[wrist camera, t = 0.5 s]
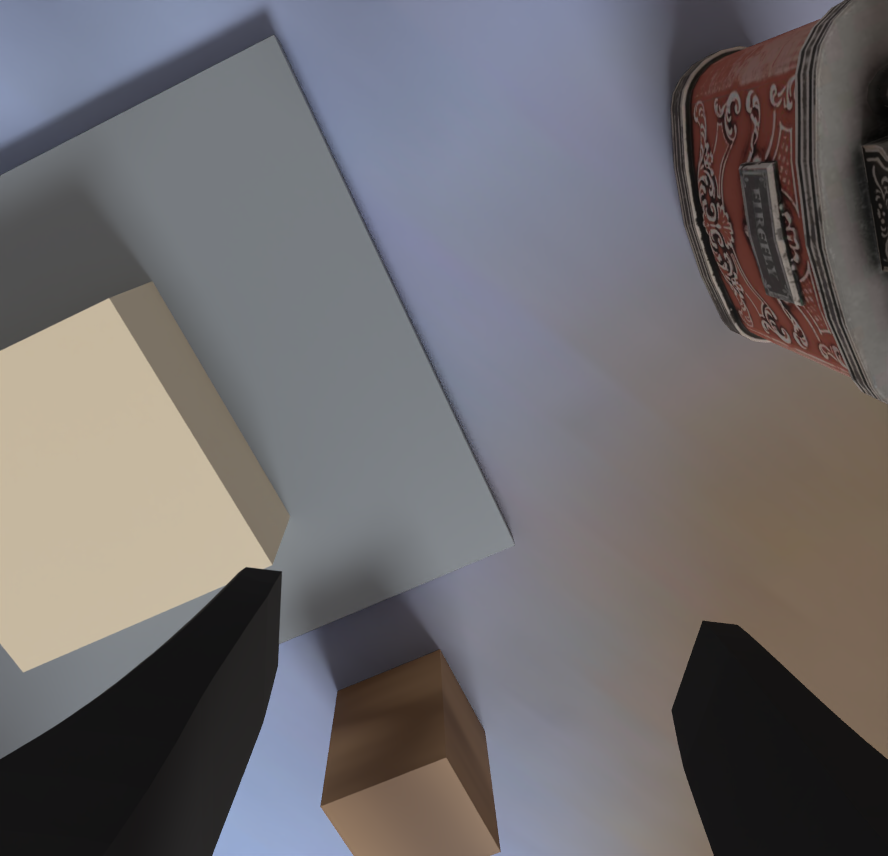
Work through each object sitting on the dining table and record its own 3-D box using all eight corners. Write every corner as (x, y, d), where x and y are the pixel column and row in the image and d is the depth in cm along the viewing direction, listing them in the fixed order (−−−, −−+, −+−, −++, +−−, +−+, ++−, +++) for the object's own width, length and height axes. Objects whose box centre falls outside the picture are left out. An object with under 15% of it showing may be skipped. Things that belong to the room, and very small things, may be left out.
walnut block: (386, 769, 27) (381, 896, 22) (337, 690, 25) (320, 806, 21) (484, 731, 26) (500, 851, 22) (440, 648, 25) (446, 757, 20)
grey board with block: (-2, 752, 26) (-65, 839, 22) (-339, 355, 21) (-488, 390, 17) (512, 536, 24) (529, 596, 20) (278, 39, 19) (248, 7, 15)
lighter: (647, 80, 19) (874, -17, 10) (770, 31, 19) (1123, -116, 10) (716, 353, 22) (947, 484, 12) (824, 313, 22) (1144, 416, 12)
